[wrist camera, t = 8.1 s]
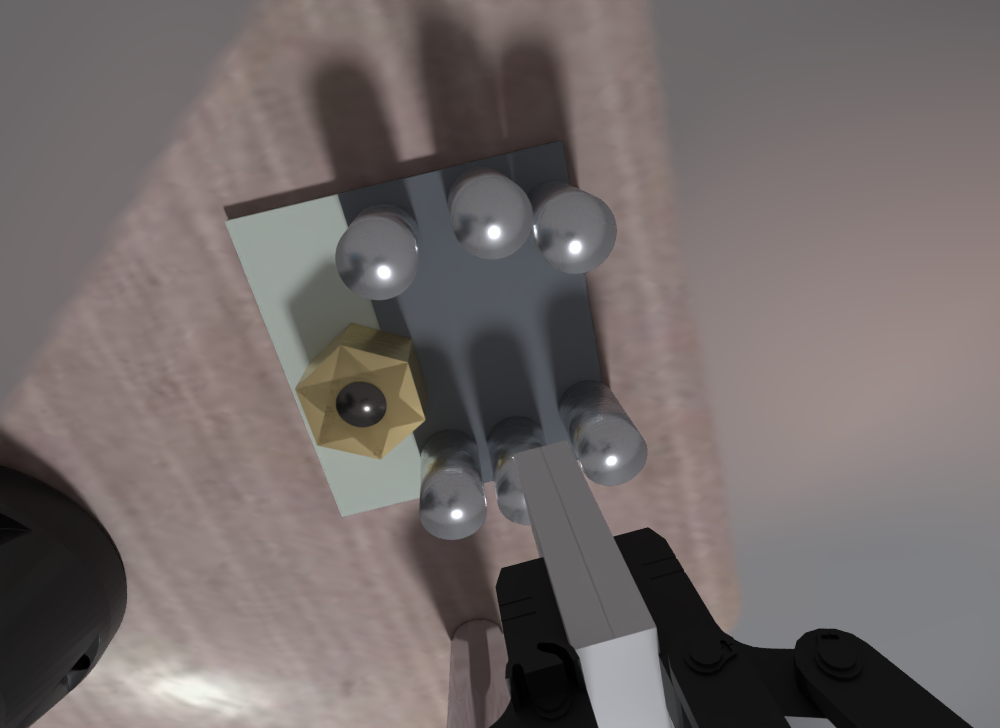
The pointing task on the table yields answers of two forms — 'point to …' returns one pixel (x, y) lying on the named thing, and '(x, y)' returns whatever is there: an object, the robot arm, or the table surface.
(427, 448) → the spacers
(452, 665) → the milkshake
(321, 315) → the mat
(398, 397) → the nut
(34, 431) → the table surface
